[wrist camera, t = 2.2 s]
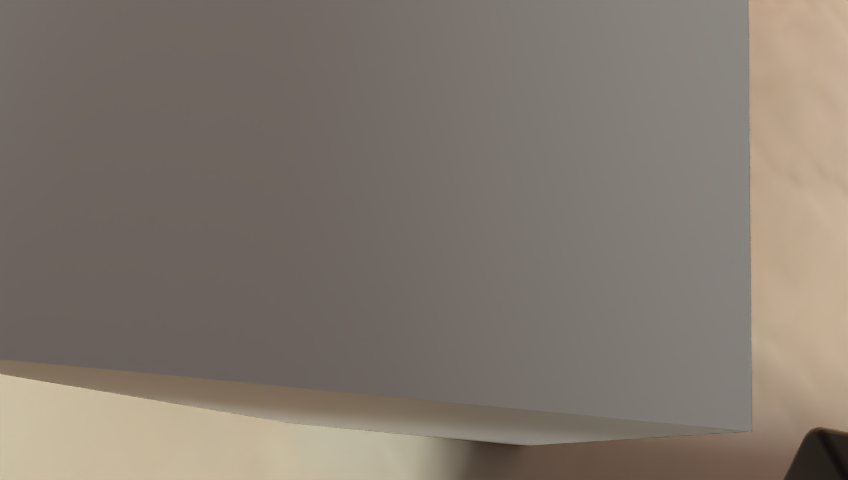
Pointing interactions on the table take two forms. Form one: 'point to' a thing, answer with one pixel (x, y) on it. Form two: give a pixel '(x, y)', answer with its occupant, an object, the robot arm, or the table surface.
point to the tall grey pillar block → (384, 211)
